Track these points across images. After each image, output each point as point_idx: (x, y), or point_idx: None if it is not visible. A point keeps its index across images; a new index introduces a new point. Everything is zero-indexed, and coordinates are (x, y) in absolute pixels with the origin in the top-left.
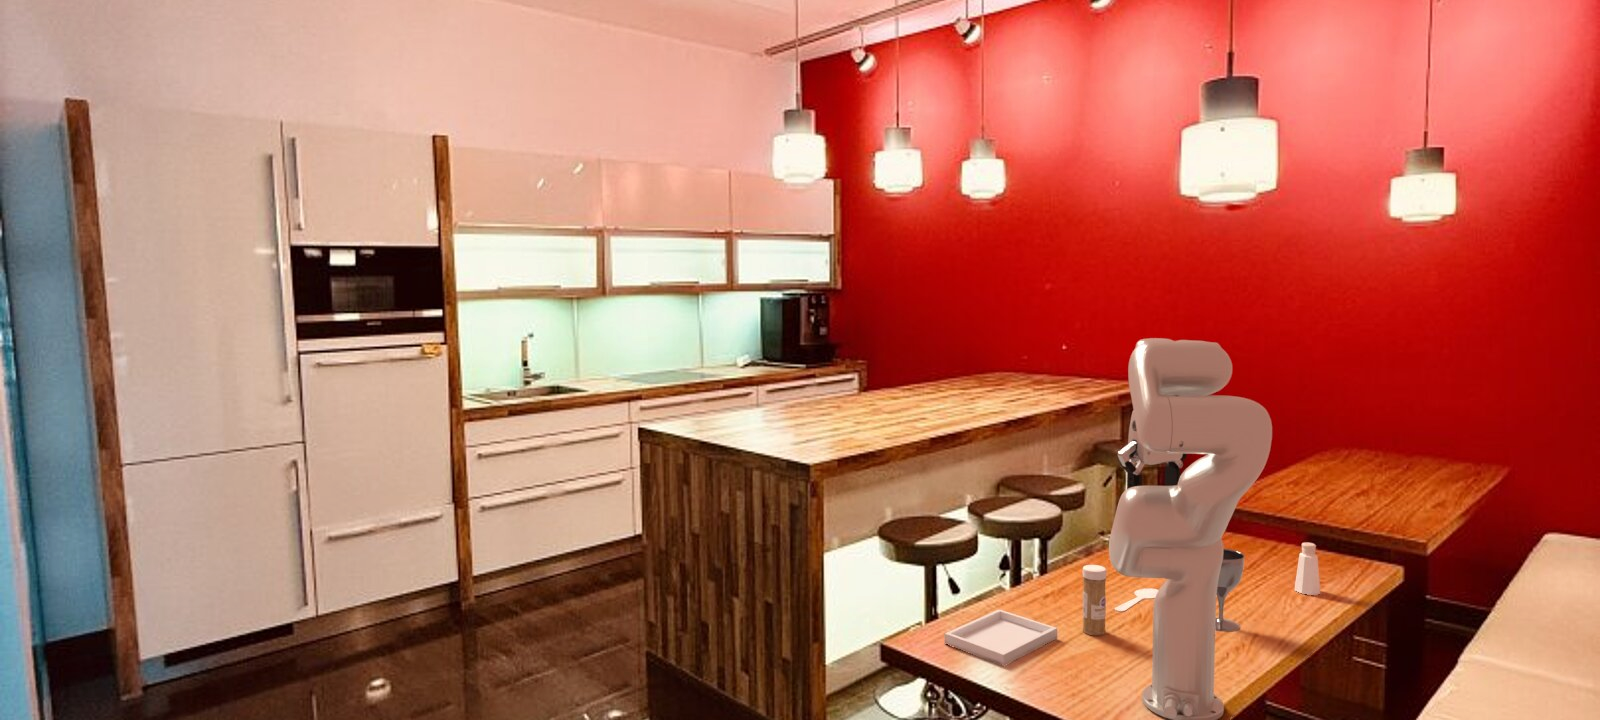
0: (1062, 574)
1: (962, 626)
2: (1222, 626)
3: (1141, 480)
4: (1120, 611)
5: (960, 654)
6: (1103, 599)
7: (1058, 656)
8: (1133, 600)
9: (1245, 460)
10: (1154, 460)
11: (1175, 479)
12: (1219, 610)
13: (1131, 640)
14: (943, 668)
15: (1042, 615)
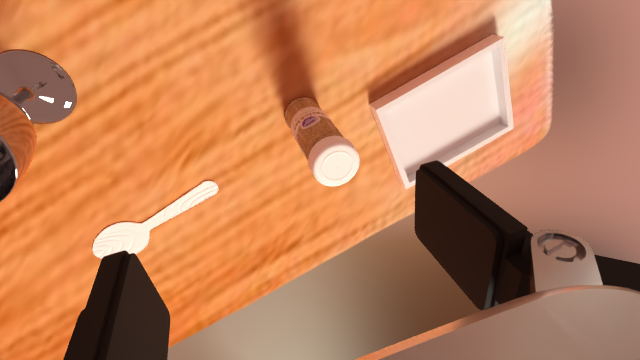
0: (226, 311)
1: (482, 144)
2: (37, 70)
3: (479, 208)
4: (212, 181)
5: None
6: (311, 122)
7: (406, 42)
8: (165, 217)
9: None
10: (558, 332)
11: (125, 301)
12: (24, 98)
13: (261, 67)
14: (551, 52)
15: None
